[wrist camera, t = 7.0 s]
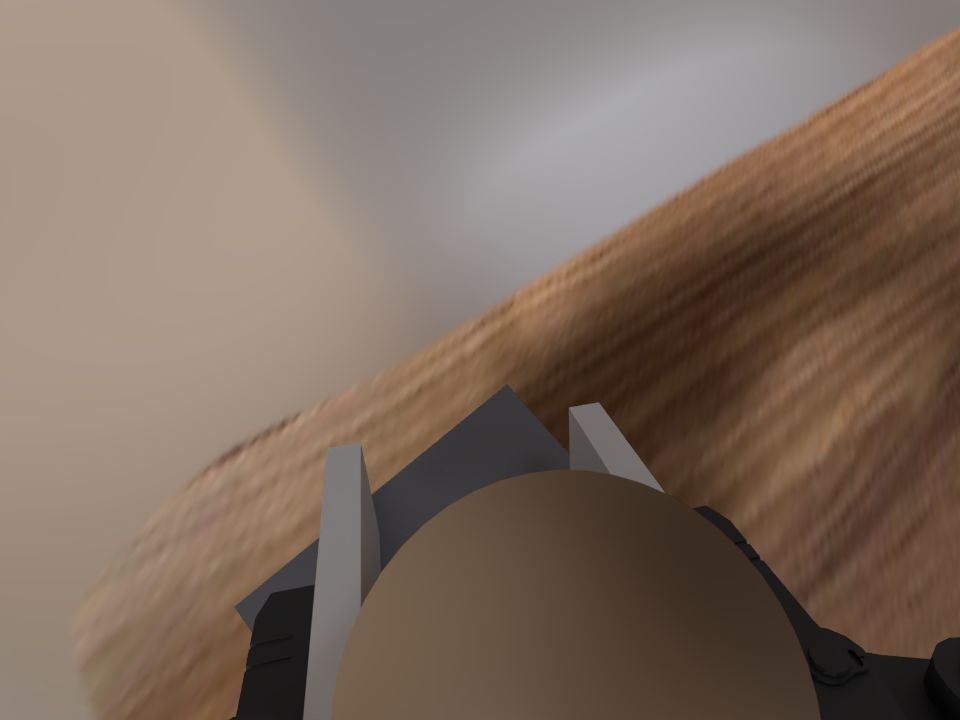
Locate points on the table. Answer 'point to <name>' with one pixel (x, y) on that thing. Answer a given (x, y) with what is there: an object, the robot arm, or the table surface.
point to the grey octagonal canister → (439, 483)
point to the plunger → (572, 615)
